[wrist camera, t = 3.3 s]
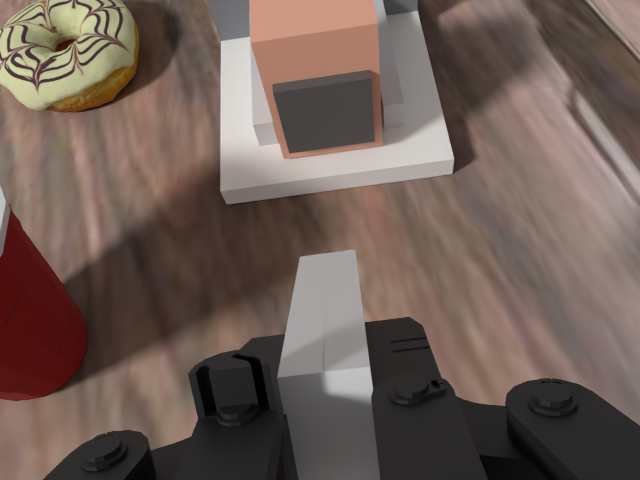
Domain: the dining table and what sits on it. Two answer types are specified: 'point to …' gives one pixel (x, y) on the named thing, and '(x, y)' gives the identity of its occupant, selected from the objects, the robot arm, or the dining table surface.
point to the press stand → (343, 166)
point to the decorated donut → (68, 53)
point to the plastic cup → (33, 318)
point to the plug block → (319, 73)
